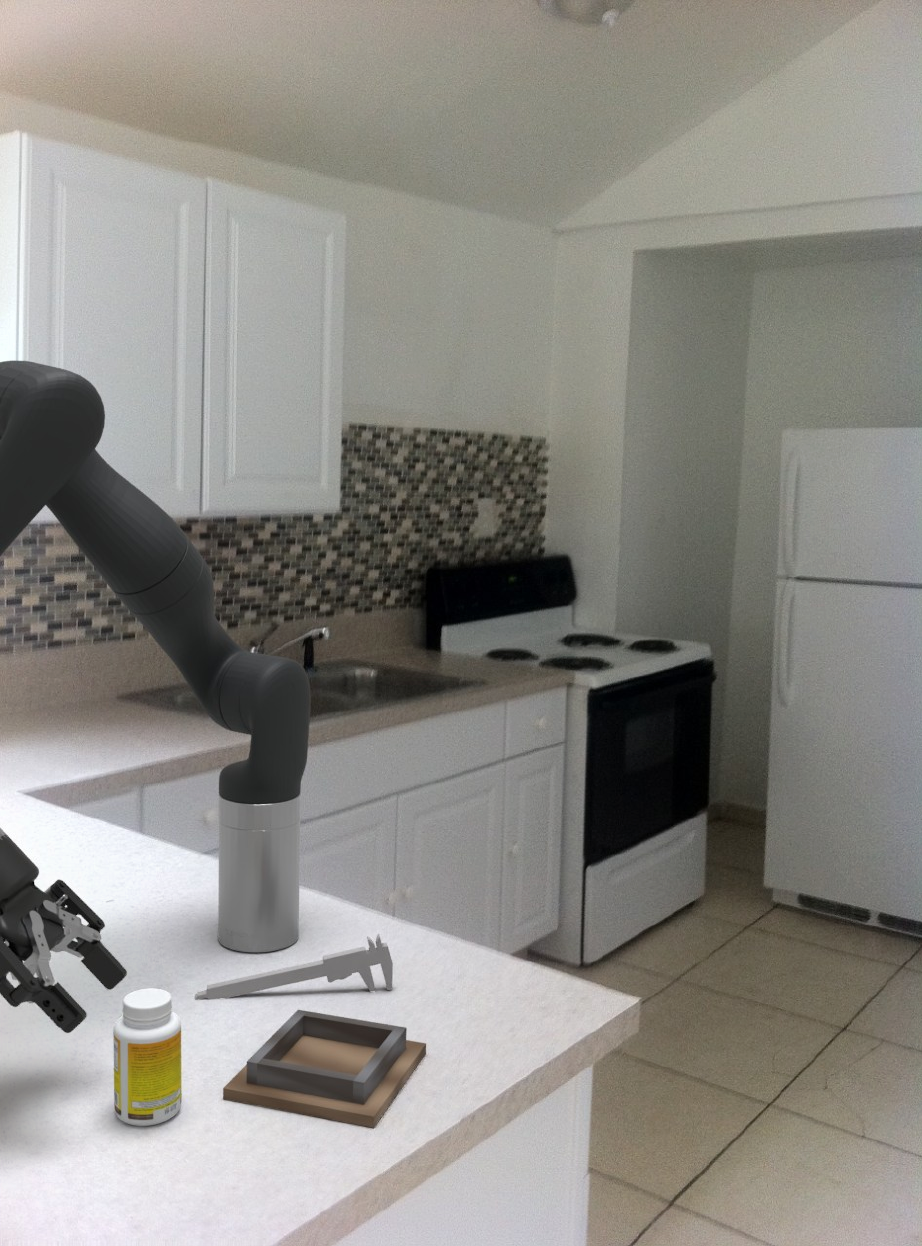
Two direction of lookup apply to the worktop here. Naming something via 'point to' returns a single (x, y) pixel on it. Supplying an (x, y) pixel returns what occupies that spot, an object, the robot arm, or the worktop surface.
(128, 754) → the worktop surface
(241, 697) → the robot arm
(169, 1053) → the supplement bottle
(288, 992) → the worktop surface
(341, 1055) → the collar base
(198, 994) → the caliper
